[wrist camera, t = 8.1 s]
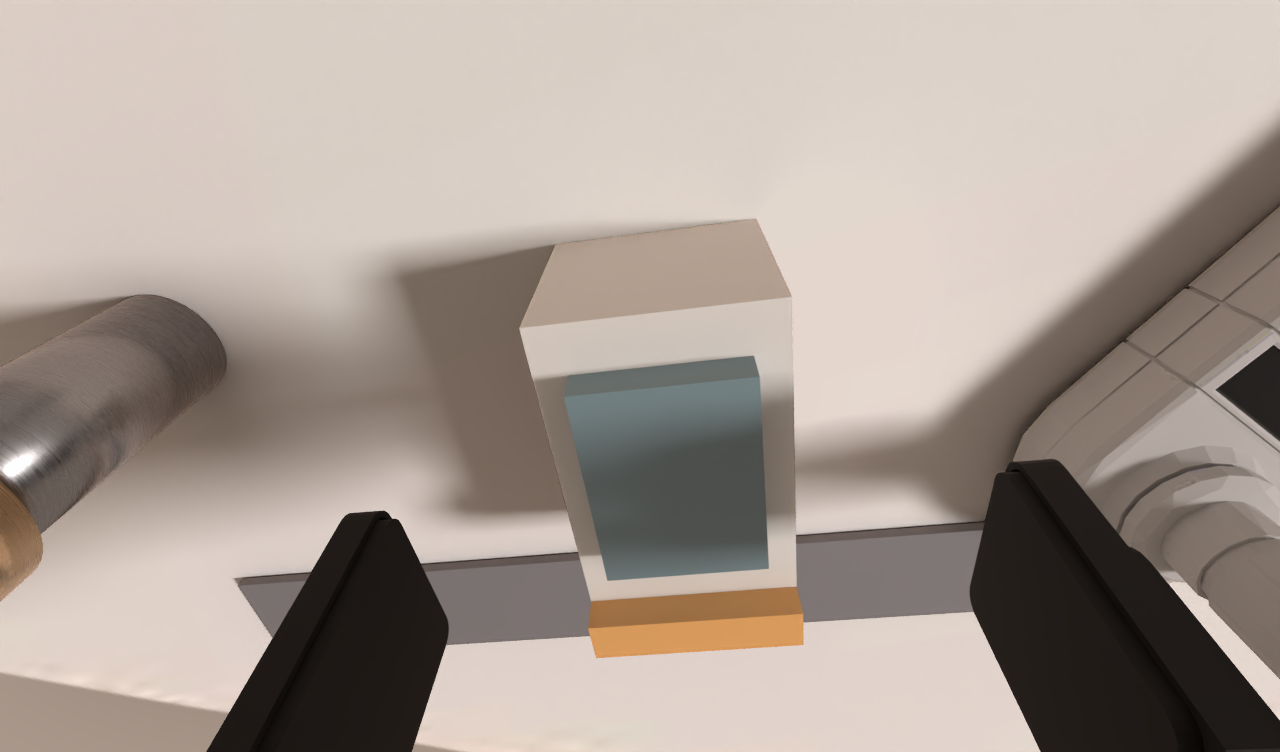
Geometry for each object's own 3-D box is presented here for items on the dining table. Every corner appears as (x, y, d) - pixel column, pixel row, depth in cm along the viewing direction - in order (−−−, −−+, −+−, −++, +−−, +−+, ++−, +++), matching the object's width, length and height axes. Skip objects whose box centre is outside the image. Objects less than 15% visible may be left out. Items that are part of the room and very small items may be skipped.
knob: (61, 288, 15) (-451, 527, 8) (199, 270, 15) (-214, 505, 8) (141, 412, 17) (-221, 694, 10) (266, 398, 16) (-20, 681, 10)
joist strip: (243, 578, 20) (237, 585, 20) (1026, 519, 18) (1031, 526, 17) (288, 647, 22) (284, 655, 21) (1006, 601, 20) (1011, 609, 19)
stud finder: (556, 242, 14) (510, 348, 10) (755, 216, 14) (800, 315, 9) (612, 505, 18) (598, 663, 14) (768, 491, 18) (803, 650, 13)
